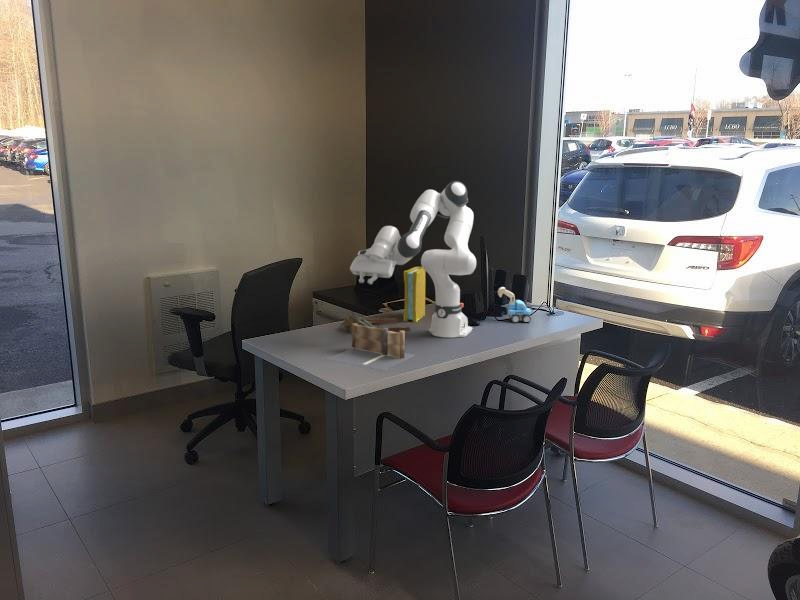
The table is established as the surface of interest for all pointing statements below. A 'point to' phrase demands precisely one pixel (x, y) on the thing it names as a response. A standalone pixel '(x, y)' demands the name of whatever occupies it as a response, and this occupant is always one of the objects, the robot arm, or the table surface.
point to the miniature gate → (369, 322)
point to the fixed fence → (393, 343)
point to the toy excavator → (516, 307)
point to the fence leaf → (366, 338)
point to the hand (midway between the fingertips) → (365, 282)
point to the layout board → (368, 359)
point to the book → (414, 294)
